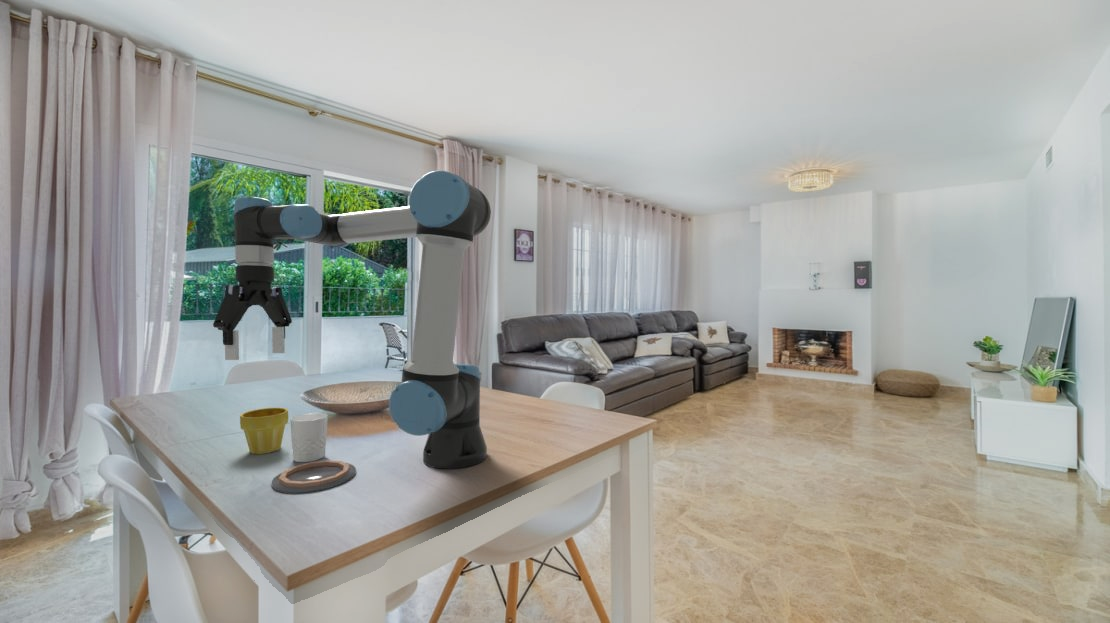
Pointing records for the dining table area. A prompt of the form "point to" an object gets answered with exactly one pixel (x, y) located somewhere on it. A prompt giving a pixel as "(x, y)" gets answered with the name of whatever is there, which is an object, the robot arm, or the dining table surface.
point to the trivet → (313, 476)
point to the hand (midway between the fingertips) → (256, 356)
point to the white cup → (308, 436)
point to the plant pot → (264, 429)
